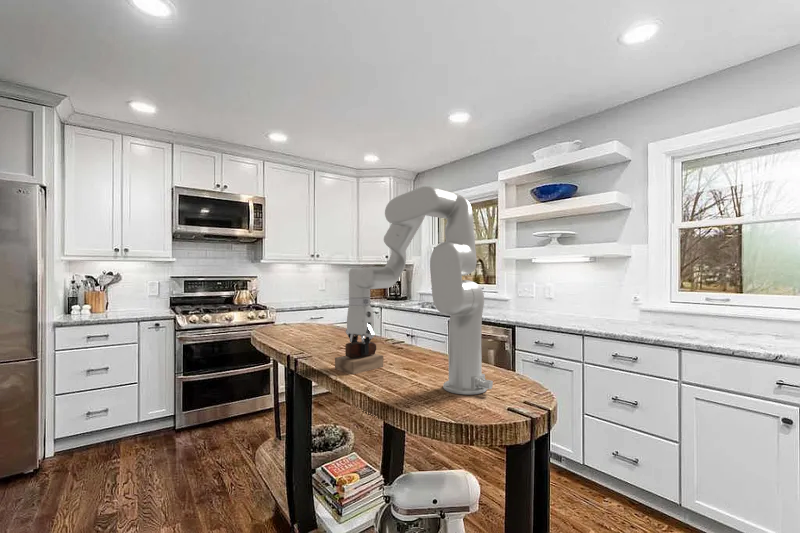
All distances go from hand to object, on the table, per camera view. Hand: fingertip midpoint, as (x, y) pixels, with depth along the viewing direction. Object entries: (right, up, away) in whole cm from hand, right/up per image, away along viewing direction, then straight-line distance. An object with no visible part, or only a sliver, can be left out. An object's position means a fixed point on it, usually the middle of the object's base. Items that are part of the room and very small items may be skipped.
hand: (359, 353), depth 144 cm
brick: (0, -1, 0) cm, 1 cm away
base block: (0, -5, 0) cm, 5 cm away
